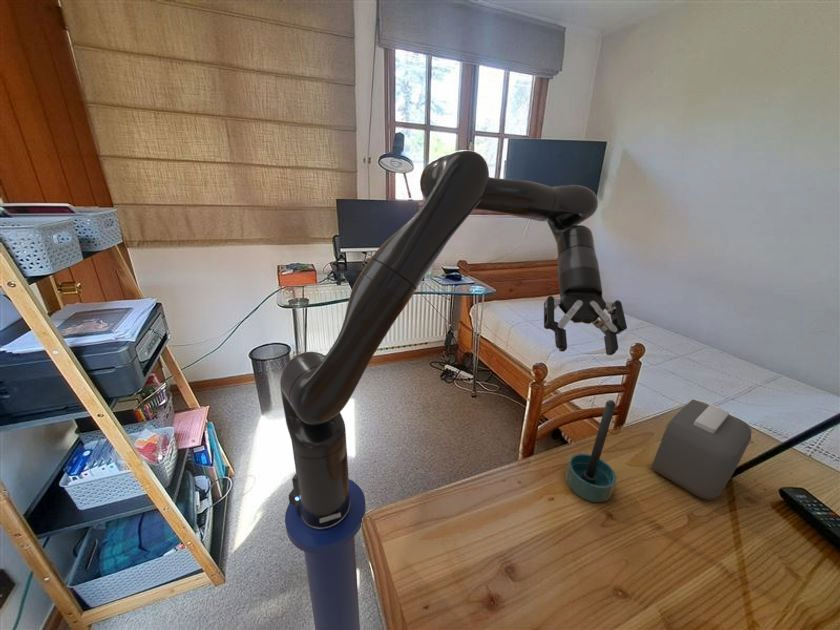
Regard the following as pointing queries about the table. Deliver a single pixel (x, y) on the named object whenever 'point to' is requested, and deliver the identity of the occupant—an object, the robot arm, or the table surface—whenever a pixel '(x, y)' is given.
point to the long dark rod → (599, 443)
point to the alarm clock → (702, 449)
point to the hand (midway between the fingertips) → (587, 352)
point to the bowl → (588, 490)
